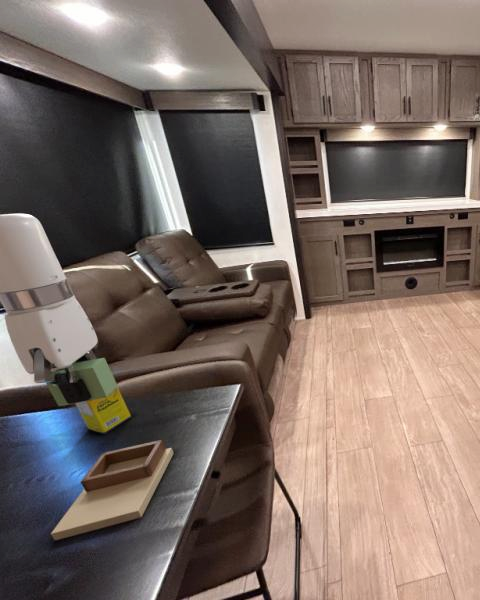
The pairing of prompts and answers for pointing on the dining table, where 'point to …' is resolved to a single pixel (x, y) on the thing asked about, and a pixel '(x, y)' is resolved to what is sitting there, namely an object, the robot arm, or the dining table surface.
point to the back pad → (89, 380)
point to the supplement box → (104, 412)
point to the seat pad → (116, 488)
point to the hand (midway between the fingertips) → (87, 392)
